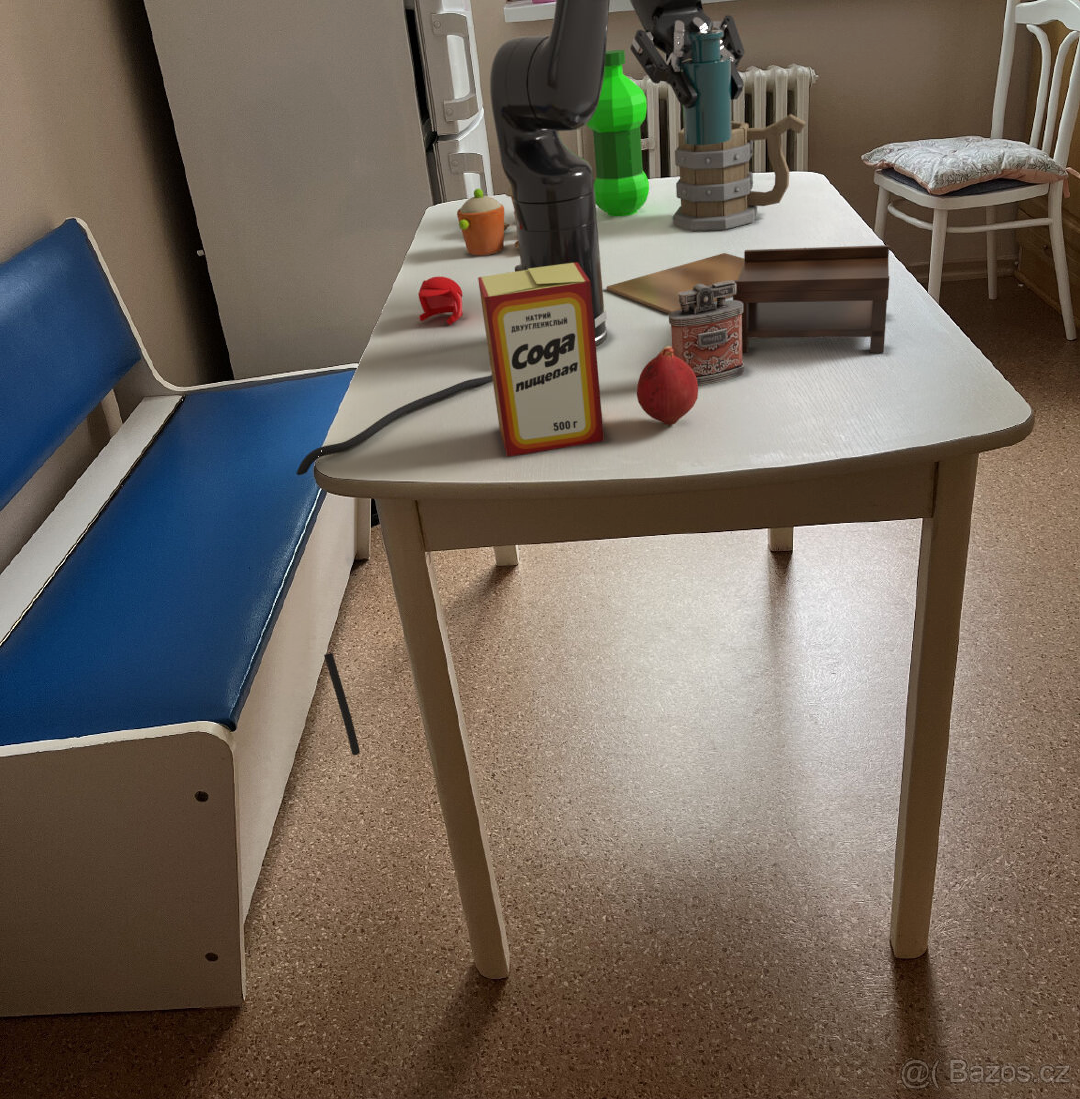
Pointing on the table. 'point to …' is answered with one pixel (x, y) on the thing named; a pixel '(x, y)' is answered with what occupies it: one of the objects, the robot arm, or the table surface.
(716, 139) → the vase
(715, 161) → the tankard
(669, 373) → the onion
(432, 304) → the red toy helmet
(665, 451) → the table surface
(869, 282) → the rack
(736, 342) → the lighter
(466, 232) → the toy tea set
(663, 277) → the placemat
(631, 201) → the plastic bottle
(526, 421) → the baking soda box
